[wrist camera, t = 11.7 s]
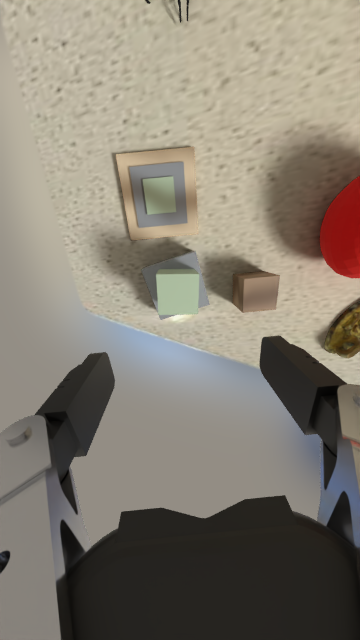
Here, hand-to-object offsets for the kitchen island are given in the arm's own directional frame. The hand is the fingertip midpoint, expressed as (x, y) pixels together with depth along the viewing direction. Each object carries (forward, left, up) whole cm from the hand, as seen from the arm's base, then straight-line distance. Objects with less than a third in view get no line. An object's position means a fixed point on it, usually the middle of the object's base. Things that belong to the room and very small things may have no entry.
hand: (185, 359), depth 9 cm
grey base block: (0, 0, -22) cm, 22 cm away
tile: (-12, -1, -22) cm, 25 cm away
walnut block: (+2, +12, -22) cm, 25 cm away
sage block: (0, 0, -18) cm, 18 cm away
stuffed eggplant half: (+11, +34, -23) cm, 42 cm away
